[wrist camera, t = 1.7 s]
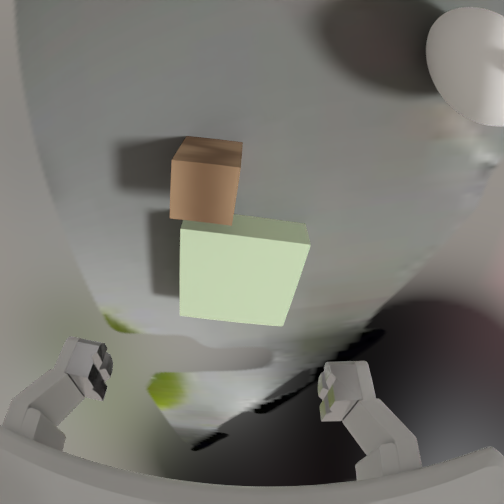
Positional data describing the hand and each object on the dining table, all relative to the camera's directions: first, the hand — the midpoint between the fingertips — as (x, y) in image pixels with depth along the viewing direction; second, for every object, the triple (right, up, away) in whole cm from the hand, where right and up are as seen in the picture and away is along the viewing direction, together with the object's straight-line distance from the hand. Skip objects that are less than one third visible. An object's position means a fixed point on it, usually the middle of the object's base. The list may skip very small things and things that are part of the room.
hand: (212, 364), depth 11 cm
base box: (0, +3, +25) cm, 25 cm away
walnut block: (-2, +12, +17) cm, 21 cm away
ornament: (+20, +22, +10) cm, 31 cm away
